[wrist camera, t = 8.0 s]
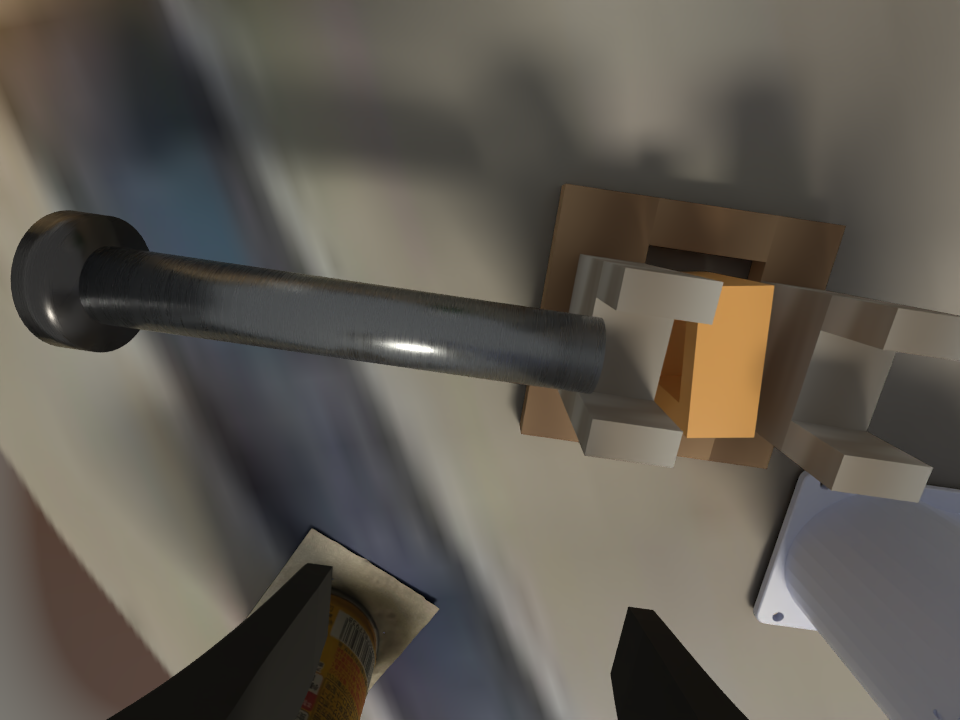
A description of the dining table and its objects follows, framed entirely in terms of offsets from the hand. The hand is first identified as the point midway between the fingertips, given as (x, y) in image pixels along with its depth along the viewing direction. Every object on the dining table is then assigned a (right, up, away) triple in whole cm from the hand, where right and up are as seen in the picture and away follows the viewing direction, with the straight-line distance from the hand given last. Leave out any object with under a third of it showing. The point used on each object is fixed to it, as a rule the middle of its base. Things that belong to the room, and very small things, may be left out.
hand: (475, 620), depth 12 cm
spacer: (+8, +7, +9) cm, 14 cm away
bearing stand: (+8, +7, +9) cm, 14 cm away
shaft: (-4, +8, +4) cm, 10 cm away
